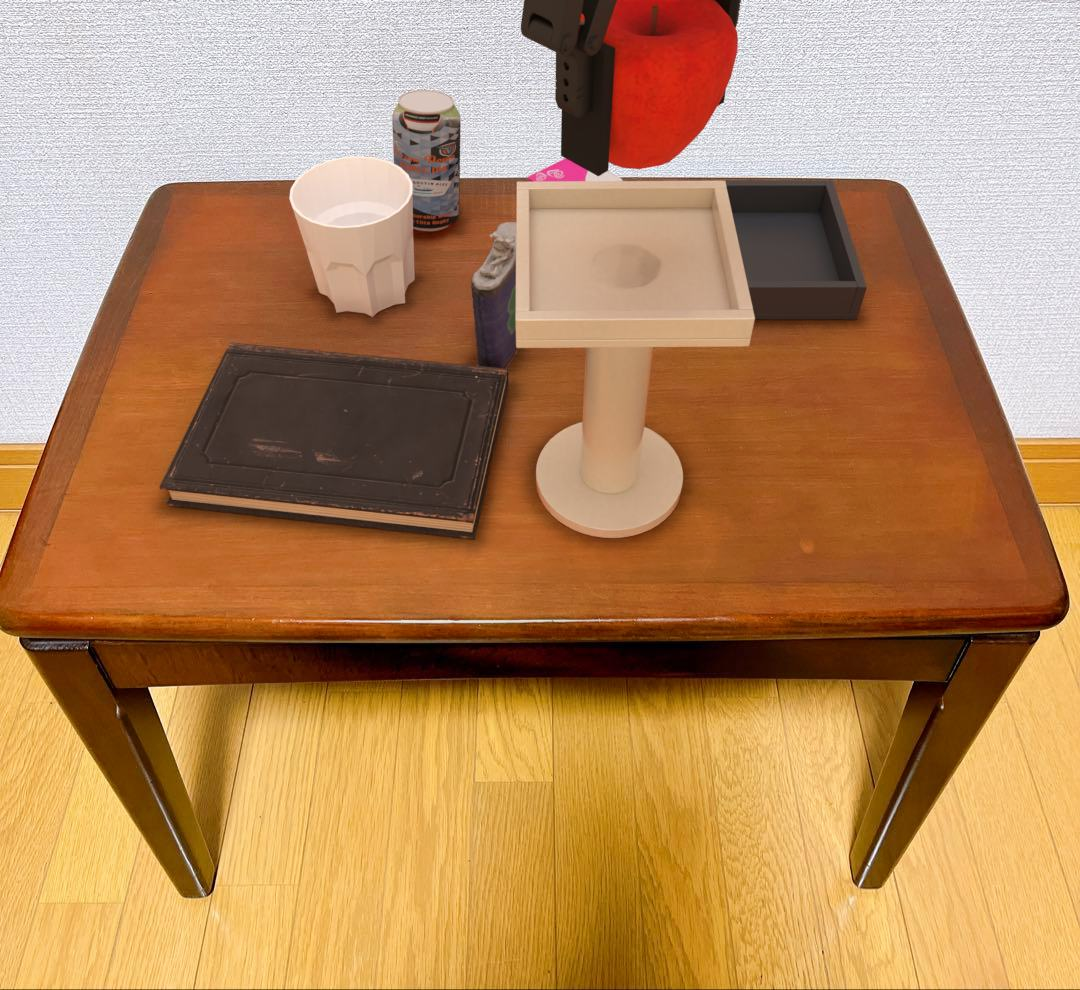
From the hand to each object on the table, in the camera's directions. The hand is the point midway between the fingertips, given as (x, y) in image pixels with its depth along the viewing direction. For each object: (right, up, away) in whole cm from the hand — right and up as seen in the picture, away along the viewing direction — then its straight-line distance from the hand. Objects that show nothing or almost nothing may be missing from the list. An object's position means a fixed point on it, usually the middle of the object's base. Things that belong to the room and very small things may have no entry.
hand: (644, 127), depth 55 cm
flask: (-9, -7, +31) cm, 33 cm away
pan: (+14, +1, +38) cm, 40 cm away
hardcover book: (-21, -16, +24) cm, 35 cm away
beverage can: (-16, +7, +42) cm, 46 cm away
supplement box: (-3, -2, +36) cm, 36 cm away
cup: (-21, -1, +36) cm, 42 cm away
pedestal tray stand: (0, -19, +21) cm, 29 cm away
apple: (0, -1, +1) cm, 2 cm away
